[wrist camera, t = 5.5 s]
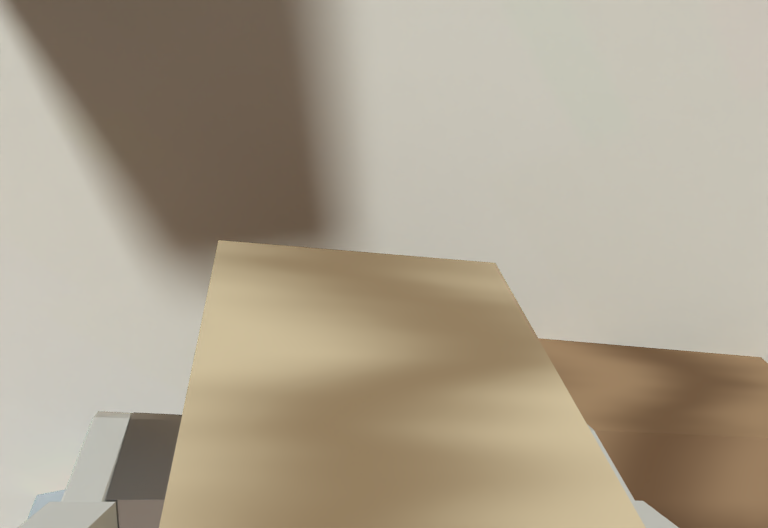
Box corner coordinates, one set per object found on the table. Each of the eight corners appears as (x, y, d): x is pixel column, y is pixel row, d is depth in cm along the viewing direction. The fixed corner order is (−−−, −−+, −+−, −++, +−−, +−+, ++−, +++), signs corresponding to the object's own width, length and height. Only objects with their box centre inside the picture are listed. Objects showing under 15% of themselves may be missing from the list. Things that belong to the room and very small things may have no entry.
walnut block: (754, 350, 20) (851, 442, 17) (631, 540, 25) (687, 641, 21) (476, 326, 18) (524, 427, 14) (399, 541, 22) (421, 655, 19)
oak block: (495, 262, 11) (667, 564, 6) (438, 451, 14) (527, 779, 9) (218, 240, 10) (147, 578, 5) (210, 448, 13) (157, 816, 8)
